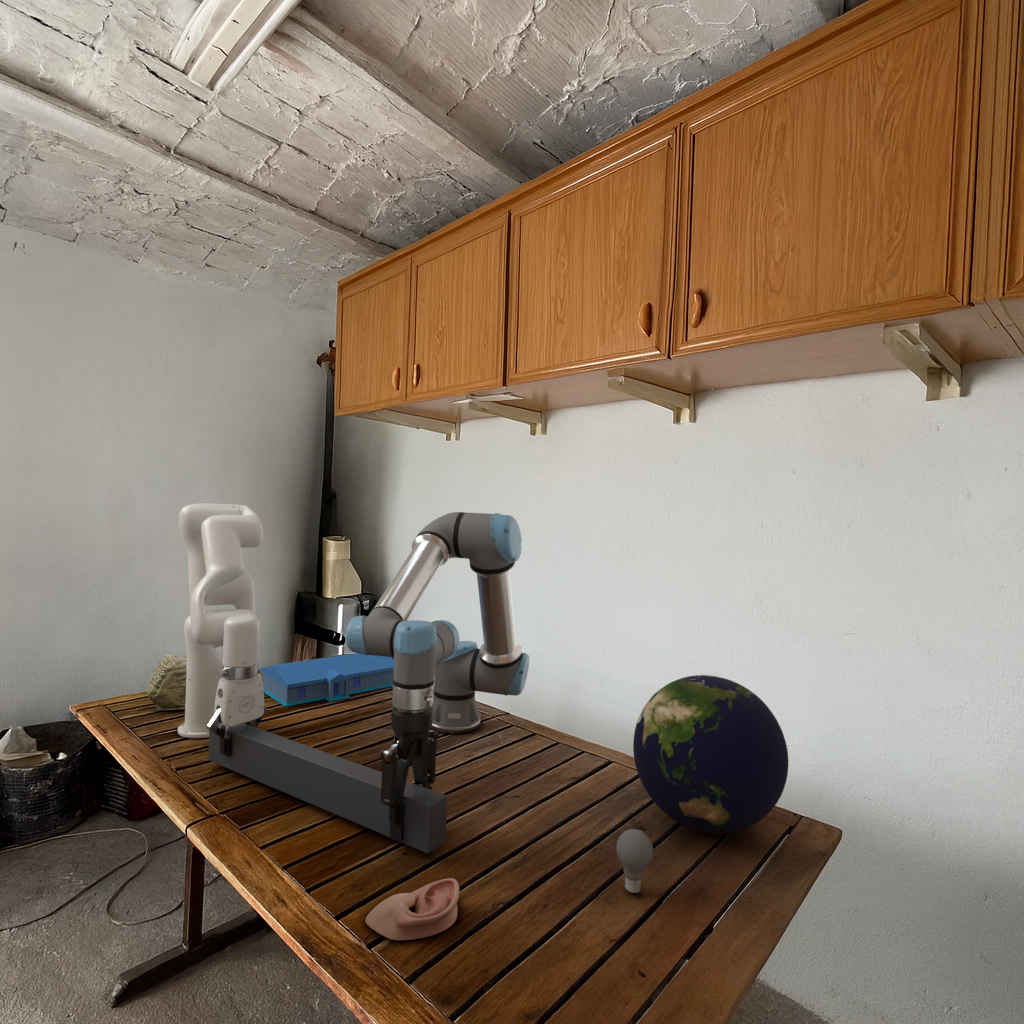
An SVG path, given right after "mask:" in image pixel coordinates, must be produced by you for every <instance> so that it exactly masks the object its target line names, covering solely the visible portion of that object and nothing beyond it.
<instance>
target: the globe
mask: <svg viewBox="0 0 1024 1024" xmlns="http://www.w3.org/2000/svg"><path fill="white" fill-rule="evenodd" d="M632 742H633V743H632V744H633V747H632V750H633V759H634V764H635V768H636V771H637V775H638V778H639V780H640V783H641V784H642V786H643V787H644V790H645V791H646V794H648V796H649V798H650V799H651V800H652V802H653V803H654V804H655V805H656V806H657V808H658V809H660V810H661V811H662V812H663V813H664V814H665V815H667V816H668V817H669V818H670V819H672V820H674V821H675V822H676V823H678V824H680V825H682V826H684V827H686V828H689V829H691V830H694V831H698V832H701V833H705V834H714V835H723V834H731V833H732V834H733V833H737V832H740V831H744V830H746V829H748V828H750V827H753V826H754V825H756V824H758V823H759V822H760V821H762V820H763V819H764V818H765V817H766V816H768V815H769V813H771V811H772V810H773V809H774V807H775V806H776V805H777V804H778V802H779V800H780V798H781V797H782V794H783V792H784V790H785V787H786V785H787V784H786V783H787V779H788V775H789V752H788V746H787V742H786V738H785V734H784V732H783V729H782V728H781V725H780V723H779V722H778V719H777V718H776V717H775V715H774V713H773V712H772V710H771V709H770V708H769V706H768V705H767V704H766V703H765V702H764V701H763V700H762V699H761V698H760V697H759V696H758V695H757V694H756V693H754V692H753V691H751V689H748V688H747V687H746V686H744V685H742V684H740V683H738V682H736V681H733V680H732V679H728V678H725V677H720V676H719V675H718V676H717V675H711V674H699V675H696V674H695V675H689V676H685V677H681V678H677V679H675V680H673V681H671V682H669V683H667V684H666V685H664V686H662V687H661V688H659V689H658V690H657V691H656V692H655V693H653V695H652V696H651V697H650V698H649V699H648V701H646V703H645V704H644V706H643V708H642V710H641V712H640V713H639V715H638V717H637V720H636V724H635V727H634V733H633V741H632Z"/></svg>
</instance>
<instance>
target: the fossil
mask: <svg viewBox="0 0 1024 1024" xmlns="http://www.w3.org/2000/svg"><path fill="white" fill-rule="evenodd" d="M186 668H187V656H183V657H182V656H178V655H175V654H174V655H173V654H165V655H164V656H163V657H162V658H161V659H160V660H159V662H158V663H157V666H156V667H155V669H154V670H153V672H152V675H151V677H150V680H149V684H148V688H147V697H148V699H149V700H150V701H152V703H153V704H154V706H155V711H158V712H159V711H162V712H163V711H177V710H185V701H186Z"/></svg>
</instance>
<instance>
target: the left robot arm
mask: <svg viewBox="0 0 1024 1024" xmlns="http://www.w3.org/2000/svg"><path fill="white" fill-rule="evenodd" d="M178 528H179V532H180V533H179V534H180V536H181V540H182V542H183V545H184V547H185V550H186V554H187V563H188V564H187V567H188V569H187V570H188V593H189V594H188V595H189V598H190V601H189V615H188V616H187V618H186V619H185V620H184V623H183V634H184V641H185V651H186V652H185V653H186V657H187V668H186V701H185V709H184V722H182V724H180V725H179V726H178V727H177V734H178V735H179V736H180V737H182V738H188V739H207V738H209V730H211V731H213V732H214V733H215V734H216V735H218V737H220V753H221V754H223V755H225V756H227V757H229V756H231V749H232V739H231V738H229V737H230V734H231V730H232V727H233V726H237V725H240V724H243V723H245V724H248V725H250V726H253V727H256V728H259V727H258V725H259V724H260V723H261V721H262V720H263V718H264V717H265V716H266V715H267V714H268V712H269V710H268V709H269V708H267V707H266V706H265V693H264V689H263V682H262V673H259V660H260V659H259V657H260V632H261V622H260V620H259V618H258V615H256V598H255V597H256V593H255V583H254V580H253V577H252V574H251V573H250V572H249V571H248V570H245V566H244V559H243V553H242V549H243V548H246V549H247V548H257V547H259V546H261V544H262V542H263V539H264V527H263V524H262V521H261V519H260V518H259V516H258V515H257V514H256V512H254V511H253V509H252V508H251V507H250V506H248V505H245V504H236V503H232V504H231V503H206V502H205V503H204V502H203V503H191V504H188V505H185V506H183V507H182V508H181V510H180V511H179V514H178ZM225 605H226V606H228V605H233V606H234V608H231V609H212V610H206V609H205V607H207V606H208V607H209V606H225ZM219 647H222V653H220V651H218V650H217V648H219ZM218 723H221V724H220V727H217V724H218ZM225 728H226V730H225Z"/></svg>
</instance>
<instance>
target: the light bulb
mask: <svg viewBox="0 0 1024 1024" xmlns="http://www.w3.org/2000/svg"><path fill="white" fill-rule="evenodd" d="M615 849H616V854H617V857H618V859H619V861H620V863H621V865H622V867H623V873H624V874H623V875H624V876H625V878H624V888H625V890H627V891H628V892H630V893H634V894H635V893H639V892H640V891H641V889H642V887H641V886H642V879H643V877H644V875H645V871H646V868H647V867H648V866H649V864H650V863H651V861H652V859H653V855H654V847H653V843H652V841H651V838H649V836H648V835H647V834H646V833H645V832H643V831H642V830H641V829H636V828H629V829H627V830H625V831H623V832H622V833H621V834H620V835H619V837H618V839H617V841H616V847H615Z"/></svg>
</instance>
